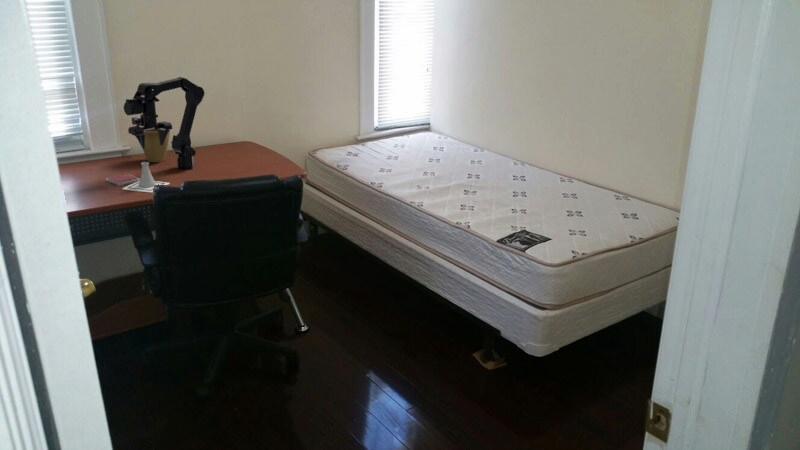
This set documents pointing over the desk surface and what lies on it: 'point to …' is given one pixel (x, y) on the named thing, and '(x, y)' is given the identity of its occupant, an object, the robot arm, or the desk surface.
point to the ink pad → (122, 179)
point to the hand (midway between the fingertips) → (152, 147)
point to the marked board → (136, 187)
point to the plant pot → (155, 146)
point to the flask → (146, 176)
